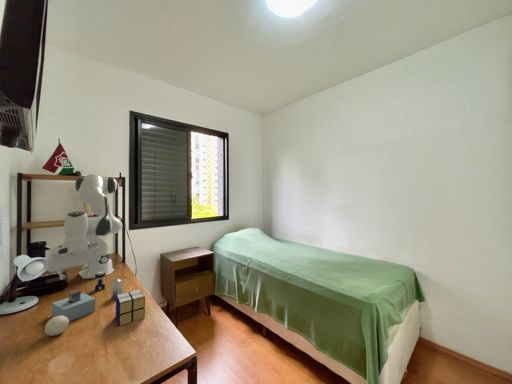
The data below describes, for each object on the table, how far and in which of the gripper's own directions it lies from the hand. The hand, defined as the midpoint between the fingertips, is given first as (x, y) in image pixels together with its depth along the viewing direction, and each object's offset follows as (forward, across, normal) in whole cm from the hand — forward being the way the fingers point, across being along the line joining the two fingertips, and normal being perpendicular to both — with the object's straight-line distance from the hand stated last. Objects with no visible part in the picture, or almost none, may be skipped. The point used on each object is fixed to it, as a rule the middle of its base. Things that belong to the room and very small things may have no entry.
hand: (75, 275), depth 101 cm
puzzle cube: (+18, -11, +26) cm, 33 cm away
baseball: (+18, +10, +12) cm, 24 cm away
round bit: (+18, -19, 0) cm, 26 cm away
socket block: (+18, 0, 0) cm, 18 cm away
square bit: (+17, 0, 0) cm, 17 cm away
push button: (+18, -19, -19) cm, 32 cm away
